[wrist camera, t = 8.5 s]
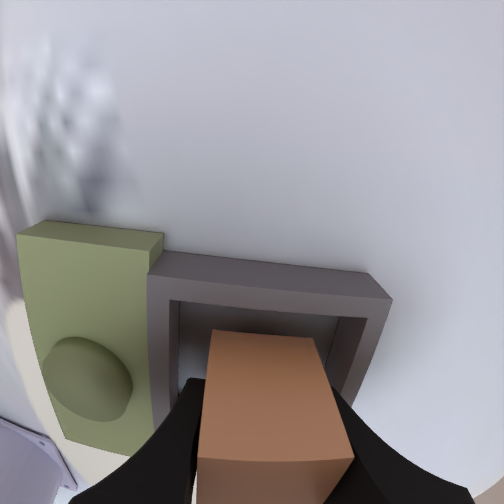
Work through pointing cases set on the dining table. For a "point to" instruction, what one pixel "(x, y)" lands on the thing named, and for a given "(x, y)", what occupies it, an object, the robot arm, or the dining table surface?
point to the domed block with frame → (161, 321)
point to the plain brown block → (268, 423)
